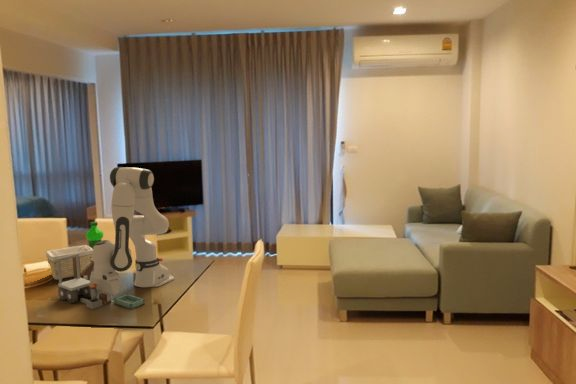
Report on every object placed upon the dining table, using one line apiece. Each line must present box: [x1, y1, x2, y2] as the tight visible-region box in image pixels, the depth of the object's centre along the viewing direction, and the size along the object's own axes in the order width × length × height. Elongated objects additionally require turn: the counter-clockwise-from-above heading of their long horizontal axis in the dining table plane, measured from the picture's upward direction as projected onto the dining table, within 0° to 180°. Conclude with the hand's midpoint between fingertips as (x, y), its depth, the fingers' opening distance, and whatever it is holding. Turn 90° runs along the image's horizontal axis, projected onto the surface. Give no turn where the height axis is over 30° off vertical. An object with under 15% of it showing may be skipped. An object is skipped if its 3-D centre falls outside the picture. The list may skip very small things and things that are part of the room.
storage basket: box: [45, 244, 93, 281], centre depth 286 cm, size 24×16×15 cm
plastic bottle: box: [85, 221, 104, 249], centre depth 314 cm, size 10×10×25 cm
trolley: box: [57, 254, 103, 310], centre depth 242 cm, size 12×27×21 cm, turn 55°
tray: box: [114, 293, 145, 310], centre depth 239 cm, size 8×13×2 cm, turn 55°
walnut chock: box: [98, 292, 112, 305], centre depth 241 cm, size 4×4×4 cm
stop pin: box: [89, 284, 98, 302], centre depth 236 cm, size 3×3×11 cm
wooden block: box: [73, 256, 94, 281], centre depth 262 cm, size 4×11×18 cm, turn 119°
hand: (104, 299), depth 241 cm, fingers closed on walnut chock, 4 cm apart
